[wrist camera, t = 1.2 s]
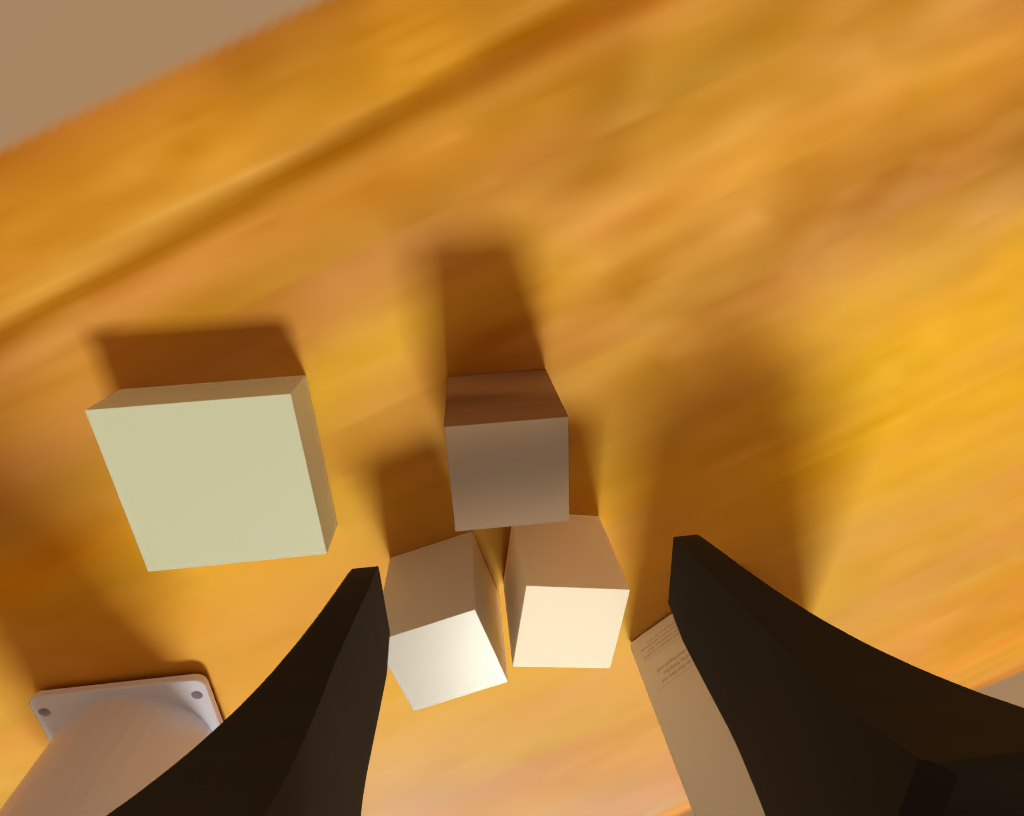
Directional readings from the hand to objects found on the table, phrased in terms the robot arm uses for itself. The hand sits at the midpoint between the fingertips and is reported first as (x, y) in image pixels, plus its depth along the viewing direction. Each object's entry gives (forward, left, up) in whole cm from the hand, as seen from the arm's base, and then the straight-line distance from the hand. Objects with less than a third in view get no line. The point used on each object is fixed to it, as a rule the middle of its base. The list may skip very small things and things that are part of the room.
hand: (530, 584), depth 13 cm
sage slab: (-1, +11, -11) cm, 15 cm away
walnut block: (0, 0, -10) cm, 10 cm away
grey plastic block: (-8, +3, -10) cm, 13 cm away
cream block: (-7, -2, -10) cm, 13 cm away
